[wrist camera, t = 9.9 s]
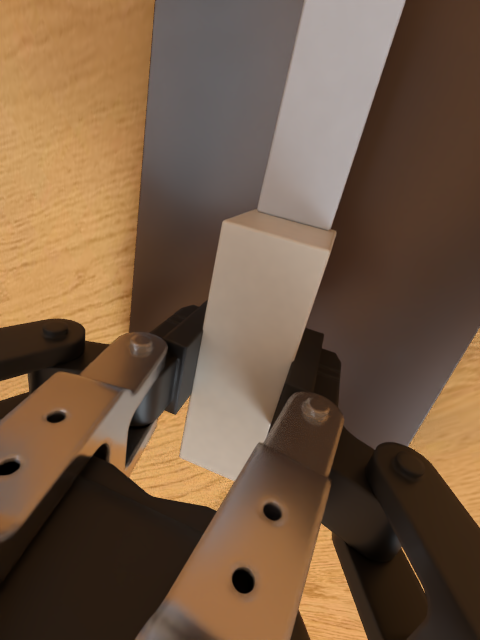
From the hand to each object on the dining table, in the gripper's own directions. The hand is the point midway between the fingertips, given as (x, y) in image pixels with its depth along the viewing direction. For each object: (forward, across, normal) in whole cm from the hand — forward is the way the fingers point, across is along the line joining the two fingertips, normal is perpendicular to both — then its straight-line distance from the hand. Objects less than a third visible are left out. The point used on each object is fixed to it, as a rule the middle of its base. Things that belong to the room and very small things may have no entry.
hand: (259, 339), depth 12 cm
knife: (0, 0, -5) cm, 5 cm away
